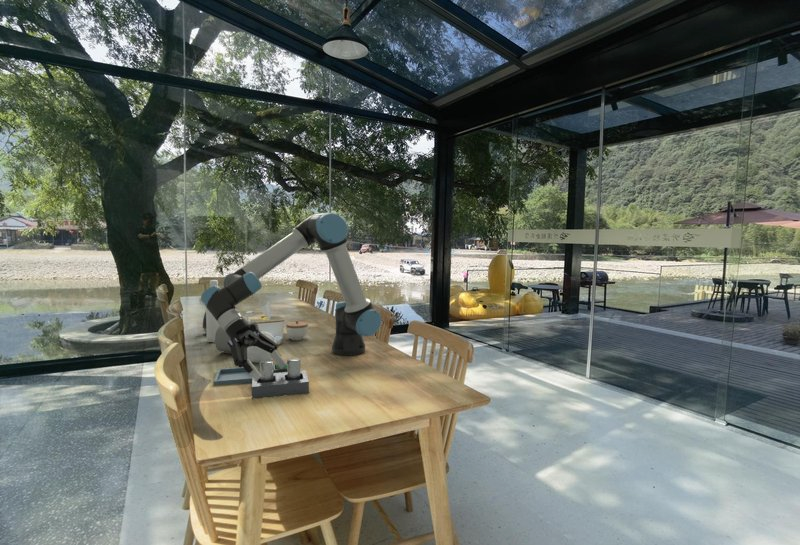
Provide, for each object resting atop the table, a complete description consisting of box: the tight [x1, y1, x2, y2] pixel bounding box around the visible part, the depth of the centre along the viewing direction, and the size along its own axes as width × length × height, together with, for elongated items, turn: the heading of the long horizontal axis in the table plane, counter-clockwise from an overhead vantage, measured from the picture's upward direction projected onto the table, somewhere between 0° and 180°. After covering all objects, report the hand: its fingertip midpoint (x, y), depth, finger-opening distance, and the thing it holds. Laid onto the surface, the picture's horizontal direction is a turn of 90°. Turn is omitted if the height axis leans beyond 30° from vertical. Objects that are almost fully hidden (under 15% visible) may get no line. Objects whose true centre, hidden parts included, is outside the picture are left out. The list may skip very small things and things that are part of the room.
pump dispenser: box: [201, 310, 207, 334], centre depth 222 cm, size 10×10×15 cm
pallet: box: [251, 370, 310, 400], centre depth 143 cm, size 18×12×4 cm, turn 107°
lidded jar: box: [285, 319, 309, 341], centre depth 213 cm, size 11×11×9 cm
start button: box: [275, 361, 287, 369], centre depth 156 cm, size 4×4×3 cm
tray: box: [213, 365, 258, 387], centre depth 153 cm, size 14×14×2 cm
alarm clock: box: [214, 320, 260, 354], centre depth 191 cm, size 21×10×13 cm, turn 170°
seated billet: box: [286, 358, 301, 381], centre depth 144 cm, size 4×4×10 cm
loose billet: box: [259, 359, 274, 383], centre depth 142 cm, size 4×4×10 cm
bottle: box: [205, 279, 220, 343], centre depth 206 cm, size 8×8×30 cm
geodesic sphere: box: [247, 329, 278, 364], centre depth 173 cm, size 14×14×14 cm
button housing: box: [273, 363, 287, 373], centre depth 156 cm, size 7×7×4 cm
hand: (272, 372), depth 141 cm, fingers open, 13 cm apart
